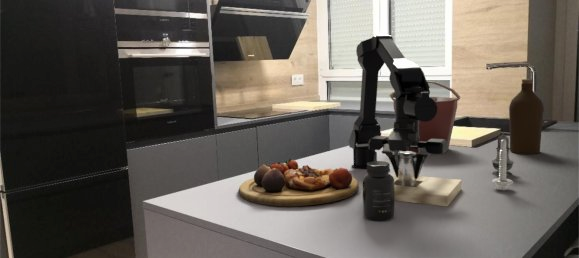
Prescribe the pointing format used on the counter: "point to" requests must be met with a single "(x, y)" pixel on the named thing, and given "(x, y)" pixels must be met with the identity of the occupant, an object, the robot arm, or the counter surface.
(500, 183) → the screw
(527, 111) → the olive oil
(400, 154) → the grey cylindrical piece
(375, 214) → the supplement bottle
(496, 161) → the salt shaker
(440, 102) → the bucket
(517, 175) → the counter surface
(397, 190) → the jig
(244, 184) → the wooden plate with food
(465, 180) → the counter surface
